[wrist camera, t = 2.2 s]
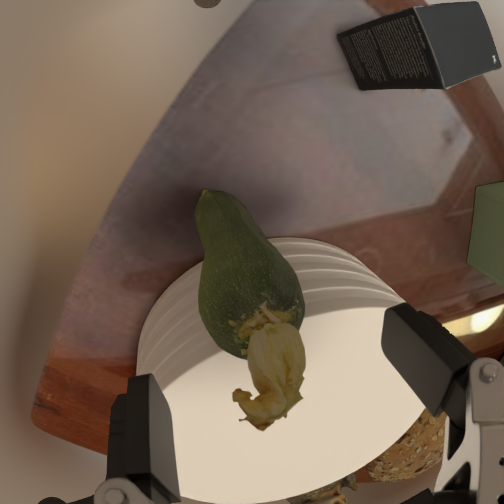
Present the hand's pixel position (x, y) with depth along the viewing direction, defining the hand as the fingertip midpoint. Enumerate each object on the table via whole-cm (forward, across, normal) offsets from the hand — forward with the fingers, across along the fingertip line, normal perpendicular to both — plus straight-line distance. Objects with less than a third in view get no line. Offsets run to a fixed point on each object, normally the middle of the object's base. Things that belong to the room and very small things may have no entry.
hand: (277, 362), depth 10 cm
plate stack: (+18, -3, +17) cm, 25 cm away
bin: (+17, -36, +8) cm, 41 cm away
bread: (+18, -26, +46) cm, 56 cm away
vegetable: (+18, 0, 0) cm, 18 cm away
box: (+17, -17, -12) cm, 27 cm away
